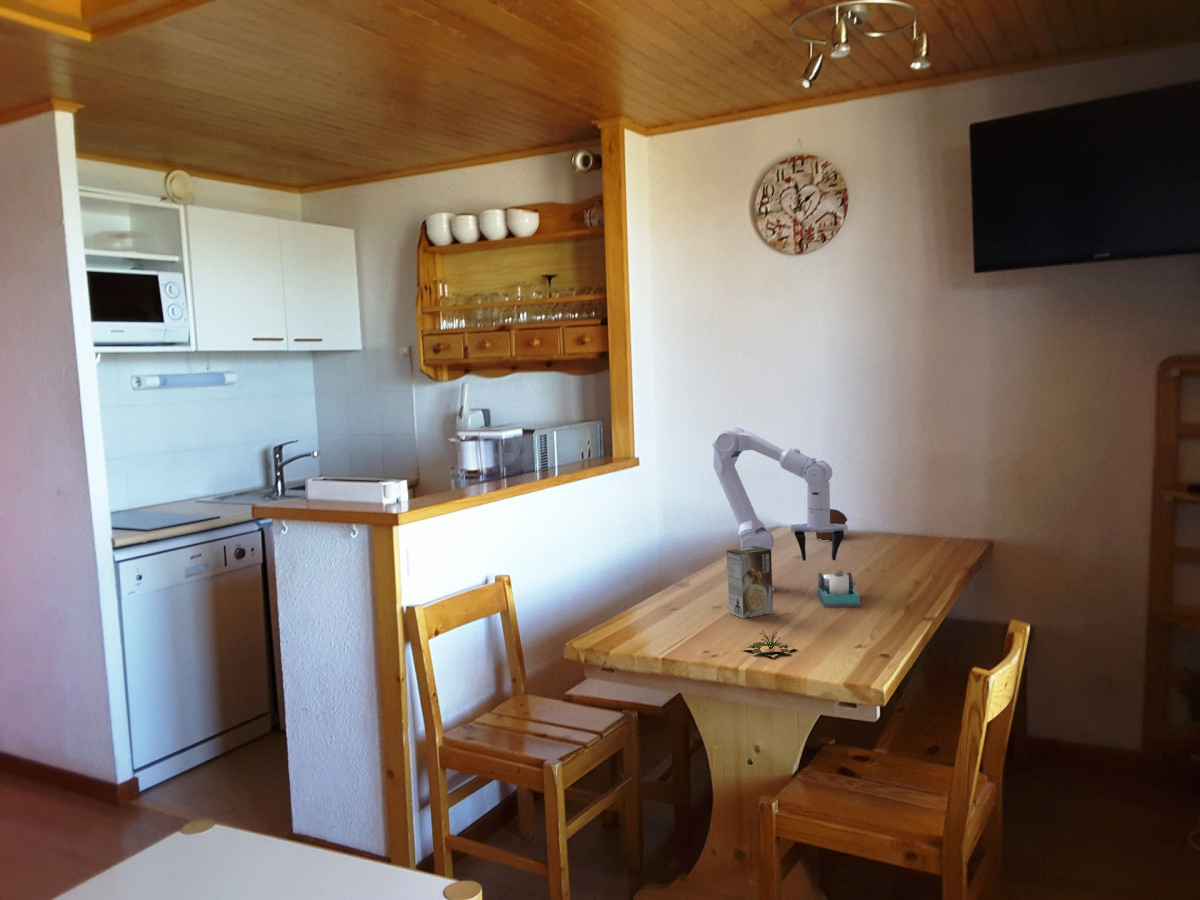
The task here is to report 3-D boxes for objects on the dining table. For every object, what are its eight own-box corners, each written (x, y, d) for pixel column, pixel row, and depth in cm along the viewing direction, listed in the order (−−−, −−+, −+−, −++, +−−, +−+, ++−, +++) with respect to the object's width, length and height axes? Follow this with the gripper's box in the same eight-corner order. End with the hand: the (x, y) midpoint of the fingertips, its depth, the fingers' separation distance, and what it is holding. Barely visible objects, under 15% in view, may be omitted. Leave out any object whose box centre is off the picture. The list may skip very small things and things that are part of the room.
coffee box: (757, 607, 242) (756, 544, 240) (773, 613, 236) (772, 549, 234) (727, 613, 237) (726, 549, 236) (743, 619, 232) (741, 553, 230)
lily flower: (810, 652, 206) (810, 631, 206) (774, 665, 199) (774, 643, 198) (766, 641, 215) (766, 621, 215) (730, 652, 208) (730, 632, 207)
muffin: (812, 542, 322) (812, 512, 321) (811, 535, 333) (810, 507, 332) (849, 542, 320) (849, 512, 319) (846, 535, 331) (846, 507, 330)
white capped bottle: (836, 602, 241) (835, 574, 240) (825, 597, 245) (825, 570, 245) (852, 600, 242) (852, 571, 242) (842, 595, 247) (841, 568, 246)
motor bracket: (823, 607, 240) (823, 583, 239) (815, 593, 254) (815, 570, 253) (863, 606, 239) (862, 582, 239) (852, 593, 253) (852, 569, 253)
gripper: (844, 505, 254) (844, 556, 255) (788, 506, 255) (789, 556, 257) (848, 509, 247) (849, 561, 248) (791, 510, 248) (792, 562, 250)
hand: (818, 559), depth 252 cm, fingers open, 7 cm apart
